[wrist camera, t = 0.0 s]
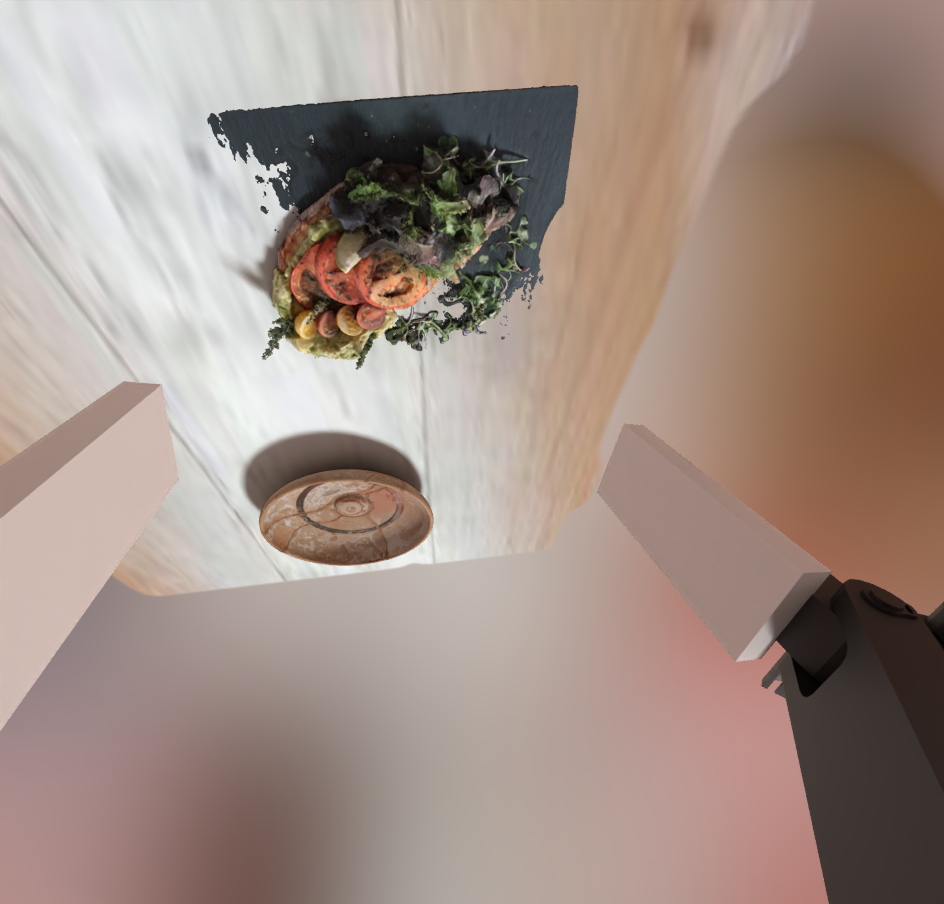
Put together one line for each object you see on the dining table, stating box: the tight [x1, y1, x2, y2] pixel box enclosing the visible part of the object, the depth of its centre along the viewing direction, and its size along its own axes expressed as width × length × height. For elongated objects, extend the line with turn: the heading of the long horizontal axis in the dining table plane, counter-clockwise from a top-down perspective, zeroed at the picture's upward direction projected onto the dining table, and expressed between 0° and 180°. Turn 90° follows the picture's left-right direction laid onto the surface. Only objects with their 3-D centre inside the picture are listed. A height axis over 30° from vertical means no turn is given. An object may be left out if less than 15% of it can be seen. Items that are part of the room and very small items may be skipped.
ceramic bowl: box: [259, 469, 433, 566], centre depth 59 cm, size 23×24×5 cm
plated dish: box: [207, 85, 578, 370], centre depth 34 cm, size 35×28×7 cm
